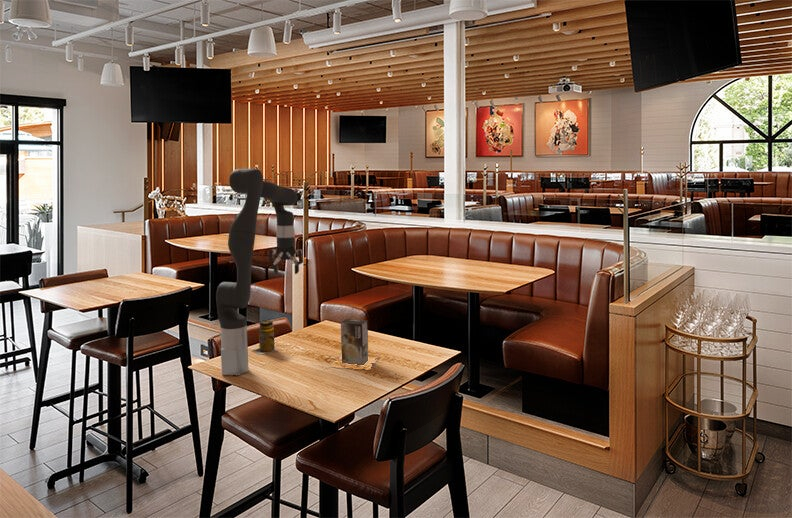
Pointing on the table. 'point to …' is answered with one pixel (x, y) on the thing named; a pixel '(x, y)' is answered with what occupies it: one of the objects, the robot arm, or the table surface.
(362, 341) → the coffee box
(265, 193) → the robot arm
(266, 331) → the condiment
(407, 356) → the table surface
